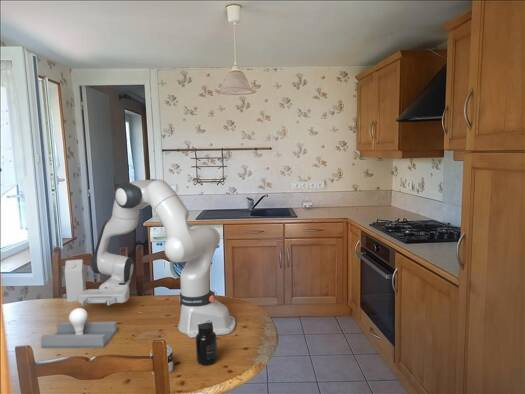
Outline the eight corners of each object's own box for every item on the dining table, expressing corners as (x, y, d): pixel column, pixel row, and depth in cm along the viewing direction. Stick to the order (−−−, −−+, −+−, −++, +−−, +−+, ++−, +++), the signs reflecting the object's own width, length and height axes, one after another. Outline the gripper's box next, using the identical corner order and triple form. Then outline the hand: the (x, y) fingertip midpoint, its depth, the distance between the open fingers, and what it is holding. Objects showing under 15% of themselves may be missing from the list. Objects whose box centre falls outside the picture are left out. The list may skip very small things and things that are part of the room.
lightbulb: (81, 341, 133) (79, 312, 132) (66, 340, 134) (64, 311, 133) (92, 333, 139) (90, 305, 138) (77, 332, 140) (75, 304, 139)
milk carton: (70, 297, 177) (67, 258, 175) (86, 295, 179) (83, 257, 177) (67, 302, 170) (63, 263, 168) (84, 300, 173) (81, 261, 170)
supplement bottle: (218, 354, 126) (217, 320, 124) (216, 365, 119) (215, 330, 118) (198, 354, 126) (196, 321, 124) (195, 366, 119) (193, 331, 117)
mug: (168, 377, 113) (167, 357, 112) (147, 376, 114) (146, 355, 113) (180, 359, 123) (179, 340, 122) (161, 358, 124) (160, 339, 123)
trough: (117, 331, 143) (116, 321, 142) (103, 347, 131) (102, 337, 130) (60, 331, 143) (59, 321, 143) (41, 348, 131) (40, 337, 131)
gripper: (85, 284, 162) (68, 296, 148) (132, 283, 161) (119, 296, 148) (86, 298, 162) (70, 311, 149) (132, 297, 162) (120, 311, 148)
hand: (95, 303), depth 148 cm, fingers open, 8 cm apart
